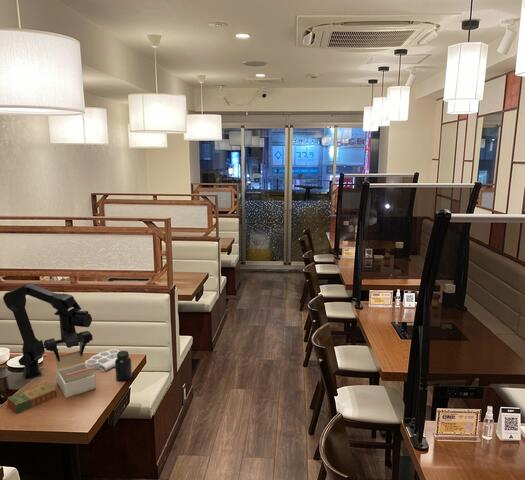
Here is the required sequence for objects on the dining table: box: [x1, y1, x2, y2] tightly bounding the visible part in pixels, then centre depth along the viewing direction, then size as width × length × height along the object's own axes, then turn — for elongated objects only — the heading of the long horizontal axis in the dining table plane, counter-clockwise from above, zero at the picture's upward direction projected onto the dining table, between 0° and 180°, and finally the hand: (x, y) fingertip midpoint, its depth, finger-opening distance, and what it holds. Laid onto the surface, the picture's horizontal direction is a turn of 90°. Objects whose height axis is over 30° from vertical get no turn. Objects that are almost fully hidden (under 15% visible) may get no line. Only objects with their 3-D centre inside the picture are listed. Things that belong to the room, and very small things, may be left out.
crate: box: [55, 362, 96, 398], centre depth 200 cm, size 14×12×6 cm
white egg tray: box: [84, 348, 120, 372], centre depth 222 cm, size 3×18×15 cm
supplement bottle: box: [114, 350, 133, 382], centre depth 207 cm, size 7×7×12 cm
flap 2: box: [66, 367, 95, 382], centre depth 193 cm, size 5×11×1 cm
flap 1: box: [55, 350, 85, 370], centre depth 205 cm, size 5×11×1 cm
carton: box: [6, 382, 58, 414], centre depth 189 cm, size 8×16×4 cm, turn 139°
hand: (70, 358), depth 204 cm, fingers open, 9 cm apart
